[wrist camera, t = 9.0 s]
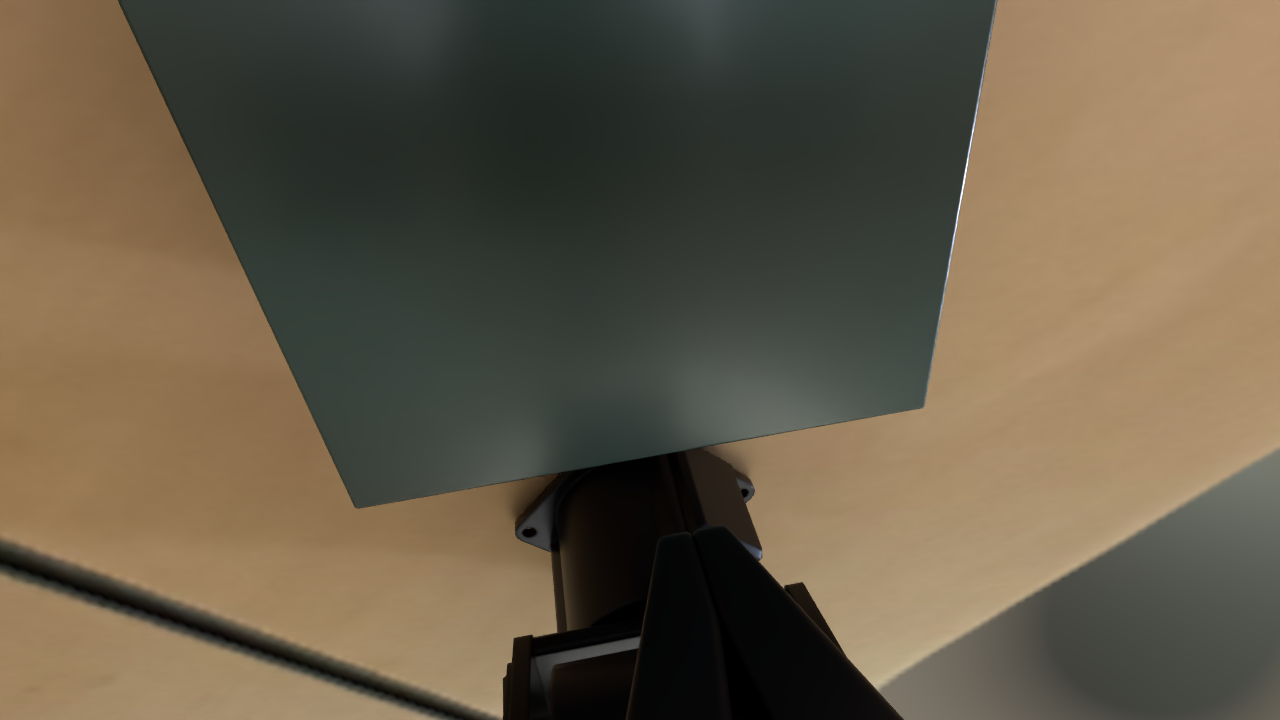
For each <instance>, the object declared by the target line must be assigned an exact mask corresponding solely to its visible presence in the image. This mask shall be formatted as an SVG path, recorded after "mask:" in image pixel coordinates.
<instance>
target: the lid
mask: <svg viewBox="0 0 1280 720" xmlns="http://www.w3.org/2000/svg"><path fill="white" fill-rule="evenodd" d="M118 2H119V4H120V6H121V9H122V11H123V13H124V15H125V17H126V19H127V21H128V24H129V26H130V28H131V30H132V32H133V34H134V36H135V38H136V41H137V43H138V45H139V47H140V49H141V51H142V53H143V56H144V58H145V60H146V62H147V64H148V66H149V68H150V71H151V73H152V75H153V77H154V79H155V81H156V83H157V86H158V88H159V90H160V92H161V94H162V96H163V98H164V100H165V103H166V105H167V107H168V109H169V111H170V113H171V115H172V118H173V120H174V122H175V124H176V126H177V128H178V130H179V133H180V135H181V137H182V139H183V141H184V143H185V145H186V147H187V150H188V152H189V154H190V156H191V158H192V160H193V162H194V165H195V167H196V169H197V171H198V173H199V175H200V177H201V180H202V182H203V184H204V186H205V188H206V190H207V192H208V194H209V197H210V199H211V201H212V203H213V205H214V207H215V209H216V212H217V214H218V216H219V218H220V220H221V222H222V224H223V227H224V229H225V231H226V233H227V235H228V237H229V239H230V242H231V244H232V246H233V248H234V250H235V252H236V254H237V256H238V259H239V261H240V263H241V265H242V267H243V269H244V271H245V274H246V276H247V278H248V280H249V282H250V284H251V286H252V289H253V291H254V293H255V295H256V297H257V299H258V301H259V303H260V306H261V308H262V310H263V312H264V314H265V316H266V318H267V321H268V323H269V325H270V327H271V329H272V331H273V333H274V336H275V338H276V340H277V342H278V344H279V346H280V348H281V350H282V353H283V355H284V357H285V359H286V361H287V363H288V365H289V368H290V370H291V372H292V374H293V376H294V378H295V380H296V383H297V385H298V387H299V389H300V391H301V393H302V395H303V398H304V400H305V402H306V404H307V406H308V408H309V410H310V412H311V415H312V417H313V419H314V421H315V423H316V425H317V427H318V430H319V432H320V434H321V436H322V438H323V440H324V442H325V445H326V447H327V449H328V451H329V453H330V455H331V457H332V459H333V462H334V464H335V466H336V468H337V470H338V472H339V474H340V477H341V479H342V481H343V483H344V485H345V487H346V489H347V492H348V494H349V496H350V498H351V500H352V502H353V504H354V506H355V508H358V509H359V508H365V507H371V506H376V505H382V504H387V503H393V502H399V501H404V500H410V499H415V498H421V497H427V496H432V495H438V494H444V493H449V492H455V491H460V490H466V489H472V488H477V487H483V486H488V485H494V484H500V483H505V482H511V481H516V480H522V479H528V478H533V477H539V476H544V475H550V474H556V473H561V472H567V471H572V470H578V469H584V468H589V467H595V466H600V465H606V464H612V463H617V462H623V461H628V460H634V459H640V458H645V457H651V456H656V455H662V454H668V453H673V452H679V451H685V450H690V449H696V448H701V447H707V446H713V445H718V444H724V443H729V442H735V441H741V440H746V439H752V438H757V437H763V436H769V435H774V434H780V433H785V432H791V431H797V430H802V429H808V428H813V427H819V426H825V425H830V424H836V423H841V422H847V421H853V420H858V419H864V418H869V417H875V416H881V415H886V414H892V413H898V412H903V411H909V410H914V409H920V408H923V407H924V406H925V400H926V395H927V389H928V384H929V378H930V372H931V367H932V361H933V356H934V350H935V345H936V339H937V334H938V328H939V322H940V317H941V311H942V306H943V300H944V295H945V289H946V283H947V278H948V272H949V267H950V261H951V256H952V250H953V245H954V239H955V233H956V228H957V222H958V217H959V211H960V206H961V200H962V194H963V189H964V183H965V178H966V172H967V167H968V161H969V155H970V150H971V144H972V139H973V133H974V128H975V122H976V117H977V111H978V105H979V100H980V94H981V89H982V83H983V78H984V72H985V66H986V61H987V55H988V50H989V44H990V39H991V33H992V27H993V22H994V16H995V11H996V5H997V0H118Z"/></svg>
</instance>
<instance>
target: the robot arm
mask: <svg viewBox="0 0 1280 720" xmlns="http://www.w3.org/2000/svg"><path fill="white" fill-rule="evenodd" d="M740 489H741V490H740ZM754 492H755V490H754V487H753V484H752V482H751V480H750V479H749V478H748V477H746V476H745V475H743V474H741V473H739V472H737V471H735V470H733V468H732V466H731V465H730V464H729V463H727V462H726V461H724V460H722V459H720V458H718V457H716V456H714V455H713V454H711V453H709V452H707V451H705V450H703V449H702V448H696V449H690V450H685V451H679V452H673V453H668V454H662V455H656V456H651V457H645V458H640V459H634V460H628V461H623V462H617V463H612V464H606V465H600V466H595V467H589V468H584V469H578V470H572V471H567V472H562V473H561V474H560V475H559V476H558V477H557V478H556V479H555V480H554V481H553V482H552V483H551V484H550V485H549V487H548V488H547V489H546V490H545V491H544V492H543V493H542V494H541V495H540V496H539V497H538V498H537V499H536V500H535V501H534V502H533V503H532V504H531V505H530V507H529V508H528V509H527V510H526V511H525V512H524V513H523V514H522V515H521V516H520V517H519V518H518V519H517V521H516V522H515V535H516V537H517V538H518V539H519V540H521V541H523V542H526V543H528V544H531V545H533V546H536V547H538V548H541V549H543V550H546V551H548V552H551V557H552V569H553V582H554V595H555V608H556V620H557V633H554V634H549V635H543V636H538V637H533V635H527V636H522V637H517V638H514V642H513V656H512V663H508V664H507V674H506V676H505V677H504V678H503V720H904V719H903V718H902V717H901V716H900V715H899V714H898V713H897V712H896V710H895V709H894V708H893V707H892V706H891V705H890V704H889V703H888V702H887V701H886V700H885V699H884V697H883V696H882V695H881V694H880V693H879V692H878V691H877V690H876V689H875V688H874V687H873V685H872V684H871V683H870V682H869V681H868V680H867V679H866V678H865V677H864V676H863V675H862V673H861V672H860V671H859V670H858V669H857V668H856V667H855V666H854V665H853V664H852V663H851V661H850V660H849V659H848V658H847V657H846V655H845V654H844V652H843V650H842V648H841V647H840V645H839V643H838V642H837V640H836V638H835V636H834V635H833V633H832V631H831V630H830V628H829V626H828V625H827V623H826V621H825V619H824V618H823V616H822V614H821V613H820V611H819V609H818V607H817V606H816V604H815V602H814V601H813V599H812V597H811V596H810V594H809V592H808V590H807V589H806V587H805V585H804V584H803V582H801V583H796V584H790V585H785V586H784V588H783V587H782V586H781V585H780V584H779V583H778V582H777V581H776V580H775V579H774V578H773V577H772V575H771V574H770V573H769V572H768V571H767V570H766V569H765V568H764V567H763V566H762V565H761V563H760V562H759V560H760V559H761V558H762V547H761V545H760V542H759V539H758V536H757V534H756V531H755V528H754V525H753V523H752V520H751V517H750V515H749V512H748V509H747V506H746V504H745V503H746V502H747V501H749V500H750V499H751V498H752V496H753V495H754ZM526 528H531V529H526Z"/></svg>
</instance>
